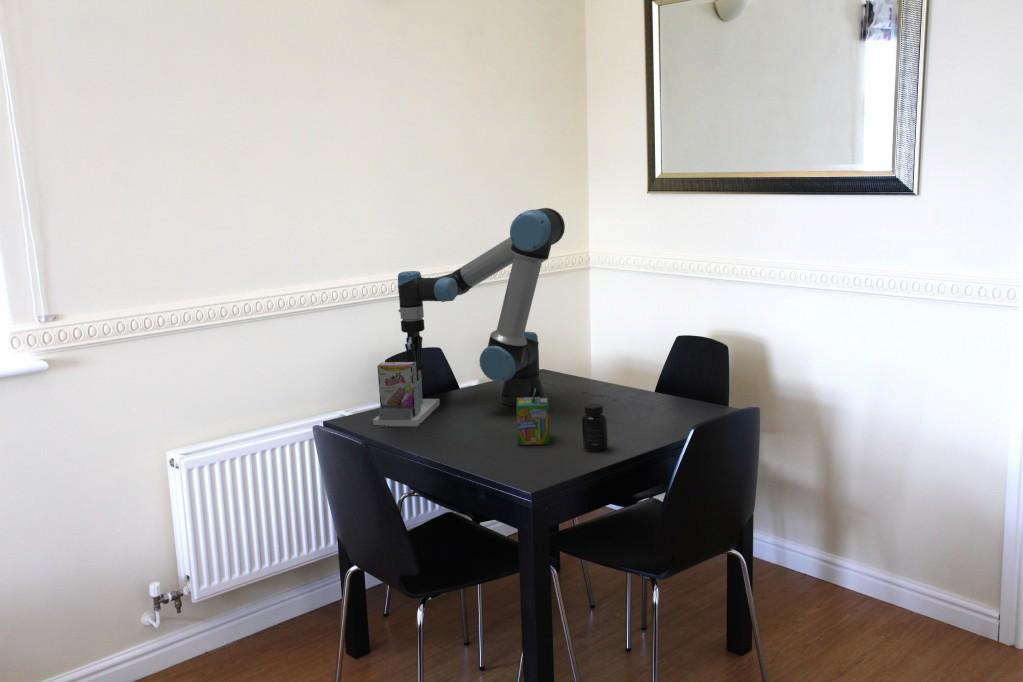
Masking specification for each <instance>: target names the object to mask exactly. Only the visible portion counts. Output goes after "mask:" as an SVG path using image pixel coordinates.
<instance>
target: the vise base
mask: <svg viewBox="0 0 1023 682" xmlns="http://www.w3.org/2000/svg"><path fill="white" fill-rule="evenodd" d="M440 404H441V403H440V398H423V403H421V404H420V405H421V410H420V411H419V413H418V414H417V415H416V416H415V417H413V406H381V407H380V406H379V408H378V411H377V412H378V415H377V416H376V417H375V418H373V419H372V424H373V425H382V426H381V427H384V426H383V425H386V426H385V427H418V426H420V425H421V424H422V422H424V421H425V420H426V419H427V418H428V417H429V416H430V415H431V414H432V413H433V412H434V411H435V410H436V409H437V408H439V406H440ZM420 423H421V424H420ZM388 425H389V426H388Z"/></svg>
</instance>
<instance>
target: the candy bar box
mask: <svg viewBox="0 0 1023 682" xmlns="http://www.w3.org/2000/svg"><path fill="white" fill-rule="evenodd" d="M377 377H378V391H379V393H378V394H379V405H380V406H379V408H380V407H381V406H413V417H415V416H416V415H417V414H418V413H419V404H418V388H417V372H416V362H408V361H398V362H397V361H395V362H394V361H393V362H392V361H387V362H384V361H383V362H381V363H379V364H378V365H377Z"/></svg>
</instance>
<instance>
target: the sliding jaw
mask: <svg viewBox="0 0 1023 682" xmlns="http://www.w3.org/2000/svg"><path fill="white" fill-rule="evenodd" d="M421 381H422V380H421ZM421 381H417V388H418V404H419V411H420V410H421V405H420V404H421V403H423V399H424V398H423V386H422V384H421Z"/></svg>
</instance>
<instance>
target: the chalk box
mask: <svg viewBox="0 0 1023 682" xmlns="http://www.w3.org/2000/svg"><path fill="white" fill-rule="evenodd" d="M535 393H536V388H535V389H534V393H533V397H526V398H517V404H516V406H515V407H516V408H515V409H516V427H517V428H516V430H517V446H530V445H532V446H534V445H537V446H540V445H550V444H551V438H550V437H551V433H550V430H551V429H550V410H549V409H550V408H549V407H550V406H549V401H550V400H549V396H546V397H535Z"/></svg>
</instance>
